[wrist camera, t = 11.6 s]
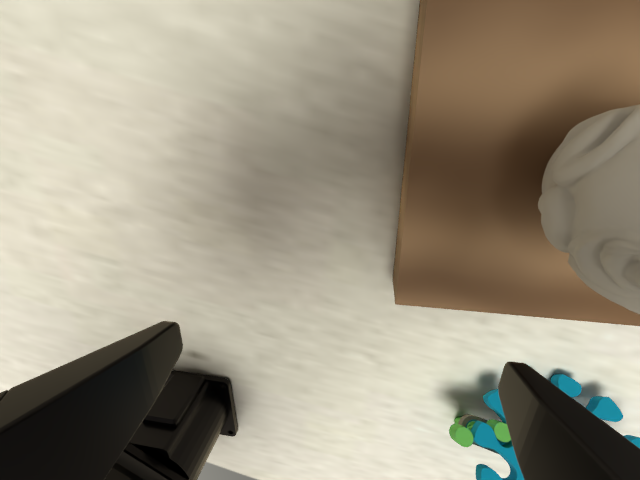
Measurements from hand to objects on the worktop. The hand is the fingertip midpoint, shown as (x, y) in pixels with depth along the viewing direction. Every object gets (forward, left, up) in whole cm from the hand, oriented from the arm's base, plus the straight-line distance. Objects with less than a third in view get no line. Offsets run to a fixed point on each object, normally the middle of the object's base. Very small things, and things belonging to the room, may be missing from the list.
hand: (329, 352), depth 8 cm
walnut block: (+4, -10, -12) cm, 16 cm away
